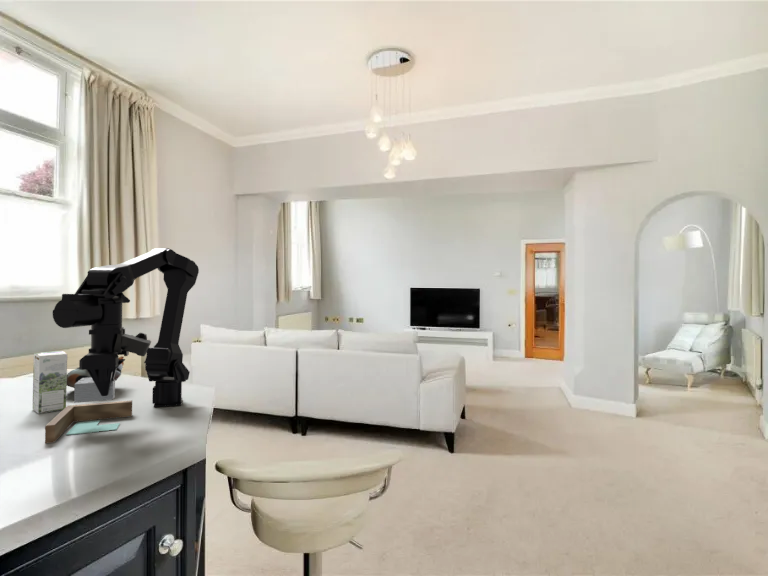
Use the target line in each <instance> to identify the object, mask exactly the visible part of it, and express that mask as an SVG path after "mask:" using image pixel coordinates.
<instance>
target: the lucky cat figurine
mask: <svg viewBox="0 0 768 576" xmlns="http://www.w3.org/2000/svg"><path fill="white" fill-rule="evenodd" d="M124 357H125V356H123V355H120V357H119V356H118V359H125V358H124ZM124 362H125V361H124ZM124 362H122V363H121V364H120V366H119V367H117V369H116V373H115V377H114V379H115V382H116V381H117V380H118V379H119V378H120V377H121V375H122V370H123V368H124V365H125V364H124ZM90 377H91V376H90V374H89V372H88V371H87V370H80V369H79V367H76V368H75V369H71V370H70V371H69V372H67V387H68V388H69V387H70V388H72V389H74V384H75V383H77V382H78V381H79V380H80V379H82V378H90Z"/></svg>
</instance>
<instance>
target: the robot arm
mask: <svg viewBox="0 0 768 576" xmlns="http://www.w3.org/2000/svg"><path fill="white" fill-rule="evenodd" d="M155 270H158V271H159V272H161V273H162V274H163V282H164V284H165V287H166V288H167V291H166V298H165V301H164V302H165V303H164V307H163V313H162V319H161V323H160V328H159V333H158V340H157V342H156V343H155V345H153V347H150V345H151V343H152V341H151V339H148V336H147V334H146V333H143V332H139V333H138V334H136V335H133V334H131V335H130V334H128V333H126V328H124V326H123V304H126V303H127V304H129V303H130V302H131V300H130V298H128V297H127V296H126V295H125V294H124V292H125V291H127V290H128V289H130V287H132V286H133V285H134V282H135V281H136V280H137V279H138V278H140V277H142V276H144V275H146V274H148V273H151V272H152V271H155ZM199 270H200V269H199V266H198V265H197V264H196V262H195V261H194V260H191V259H190V258H189V257H186V256H184V255H182V254H179V253H177V252H176V251H174V250H173V249H170V248H168V247H164V248H163V247H162V248H161V247H157V248H152V249H151V250H150V251H148V252H146V253H143V254H140V255H138V256H136V257H133V258H131V259H129V260H126V261H123V262H120V263H117V264H108V265H102V266H97V267H96V266H95V267H92V268H91V269H89V270H88V271H87V275H86V277H85V278H84V279H83V281H82V283H81V284H80V286H79V287H78V289H77V290H76V291H75V292H74V293H62V294H61V300H59V301H58V302H57V303H56V304H55V306H54V309H53V310H52V318H53V321H54V323H55V324H56V325H57V326H58V327H59V328H63V329H68V328H70V329H71V328H79V327H91V328H90V329H88V335H89V336H90V348H88V353H87V354H85V355H84V356H83V357H82V358H80V359H79V360H78V361H79V362H78V363H79V367H78V368H79V369H80V370H87V371H88V372H89V374H90V376H91V377H92V379H93V381H94V383H95V385H96V386H97V388H98V390H99V392H100V394H101V396H107V395H108V392H109V388H110V383H111V379H114V377H115V373H116V369H117V367H119V366H120V364H121V363H122V362H125V360H126V359H125V358H123V359H118V358H119V356H123V357H128V356H129V355H130V353H132V354H135V355H137V356H139V357H145V356H146V357H145V360H144V362H143V363H144V364H145V366H144V368H145V371H146V374H147V378H148V381H149V382H155V383H154V385H153V387H152V402H151V403H152V404H153V407H154V408H160V407H161V408H162V407H172V406H173V407H174V406H181V405H182V402H183V396H182V395H183V394H182V393H183V383H185V382H186V381H188V380H189V377H190V370H189V369H188V368H187V366H186V365H185V364H184V363H183V358H184V353H183V351H182V349H181V347H180V343H179V342H180V337H181V330H182V325H183V320H184V314H185V308H186V304H187V297H188V293H189V291H191V289H192V288H194V286H195V285H196V282H197V279H198V275H199V273H200V271H199Z"/></svg>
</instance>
